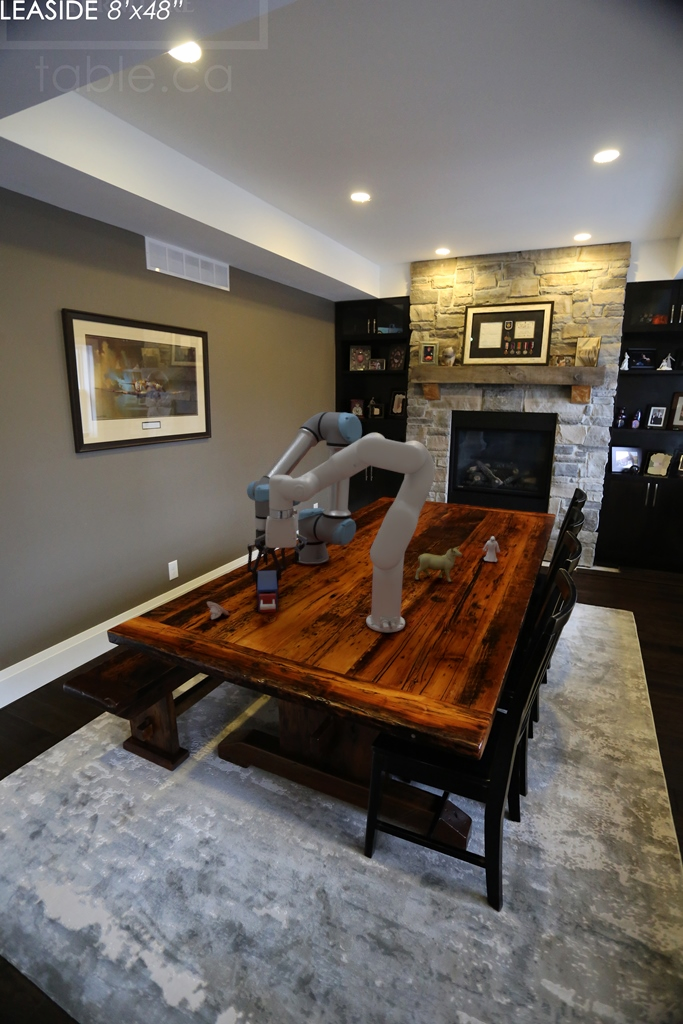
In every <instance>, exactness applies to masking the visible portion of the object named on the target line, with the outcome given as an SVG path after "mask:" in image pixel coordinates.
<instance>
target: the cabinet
mask: <svg viewBox="0 0 683 1024" xmlns="http://www.w3.org/2000/svg"><path fill="white" fill-rule="evenodd" d="M276 570H277V569H276ZM276 570H257V571H258V586H257V591H256V592H257V594H256V595H257V612H258V613H260V609H259V594H262V592H273V594H275V593H276V612H278V610H279V607H278V606H279V604H278V603H279V602H278V590H277V576H276Z"/></svg>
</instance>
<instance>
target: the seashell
mask: <svg viewBox="0 0 683 1024" xmlns="http://www.w3.org/2000/svg"><path fill="white" fill-rule="evenodd" d="M206 605H207V607H208V608H209V614H211V615H210V619H211V620H216V619H218V618H219V617H221V615H227V616H230V613H229V610H227V609H226V608H225V607H223V606H221V605H220V604H218V603H217V602H213V601H208V600H207V601H206Z"/></svg>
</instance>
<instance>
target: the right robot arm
mask: <svg viewBox="0 0 683 1024" xmlns="http://www.w3.org/2000/svg"><path fill="white" fill-rule="evenodd" d="M369 467H375V468H379V469H384V470H387V471H392V472H396V473H400V474H405V476H404V478H403V481H402V483H401V485H400V487H399V490H398V492H397V495H396V497H395V498H394V501H393V503H392V504H391V505H390V507H389V508H388V510H387V512H386V513H385V516H384V518H383V520H382V523H381V525H380V527H379V530H378V532H377V533H376V536H375V538H374V540H373V542H372V544H371V547H370V550H369V558H370V561H371V563H372V564H373V565H372V585H371V586H372V587H371V607H370V609H371V613H370V615H368V616H367V617H366V621H365V622H366V623H365V624H366V625H367V627H368V628H369V629H372V630H373V631H376V632H379V633H396V632H398V631H402V630H403V629H404V628H405V626H406V620H405V618H403V617H402V615H401V614H402V599H403V598H402V597H403V580H404V564H405V563H404V561H405V553H406V550H407V549H408V546H409V545H410V542H411V540H412V538H413V536H414V534H415V532H416V529H417V526H418V523H419V519H420V518H419V517H420V515H421V513H422V509H423V507H424V505H425V503H426V501H427V498H428V496H429V494H430V491H431V490H432V486H433V484H434V480H435V471H436V470H435V462H434V458H433V456H432V454H431V453H430V451H429V450H428V448H427V447H426V446H425V445H424V444H423V443H422V442H420V441H418V440H407V441H405V442H401V441H396V440H392V439H388V438H385V436H384V435H383V434H381V433H378V432H370V433H368V434H366V435H364V436H361V438H360V439H359V440H357V441H356V442H354V443H352V444H351V445H349V446H347V447H346V448H344V449H342V450H341V451H339V452H337V453H336V454H334V455H333V456H331V457H330V456H329V458H328V459H327V460H326V461H324V462H323V463H320V464H319V465H318V466H316V467H314V468H312V469H311V470H308V472H306V473H304V474H302V475H299V477H295V478H293V477H292V476H291V475H289V476H288V475H273V476H271V477H270V479H269V516H268V517H267V521H266V533H265V534H264V535H262V536H260V537H258V538H256V537H255V538H254V540H253V541H254V543H255V544H256V545H257V547H258V549H259V550H260V551H262V553H263V554H262V559H263V560H262V562H263V563H265V566H268V563H269V562H268V561H269V559H268V558H269V557H268V556H269V554H268V550H269V548H276V549H279V548H285V549H287V548H288V549H290V548H292V549H293V550H294V554H293V555H294V557H293V558H294V565H298V563H297V561H299V552H300V551H301V550H302V549H303V548H304V547H305V545H306V543H307V541H308V539H307V538H305V537H303V536H301V535H299V534H298V529H297V521H296V516H295V515H298V509H295V508H294V506H293V500H294V501H299V502H300V503H303V502H304V503H305V502H307V501H309V500H310V499H312V498H313V497H314V496H316V495H317V494H318V493H320V492H321V491H323V490H325V489H328V486H330V485H332V484H334V483H336V482H338V481H340V480H345V479H347V478H349V479H350V478H351V477H353V476H355V475H356V474H358V473H360V472H361V471H363V470H365V469H367V468H369ZM264 539H265V541H266V545H265V546H264V547H263V546H262V545H261V544H260V541H262V540H264ZM298 539H299V540H302V543H301V544H300V545H299V546H298ZM258 549H257V550H258Z"/></svg>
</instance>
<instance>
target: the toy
mask: <svg viewBox="0 0 683 1024" xmlns="http://www.w3.org/2000/svg"><path fill="white" fill-rule="evenodd" d="M460 548H461V546H460V545H459V546H456V547H453V548H449V549H448V550H447V551H446V553H445V554H442V555H437V554H432V553H422V554H420V555H419V556H418V558H417V561H418V564H419V567H418V568H417V569H416V573H415V576H414V579H415V580H416V581H420V578H419V575H420V573H421V572H423V573H425V575H426V576H427V577H428V578H429V577H430V572H429V571H428V570H427V569H429V570H432V571H440V572H439V574H438V578H439V579H443V574H445V576H446V581H447V583H449V584H451V583H453V581H452V579H451V577H450V571H451V570H452V568H454V565H455V562H456V557H458V558H461V557H462V556H463V553H462V552H461V551H459V549H460Z"/></svg>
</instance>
